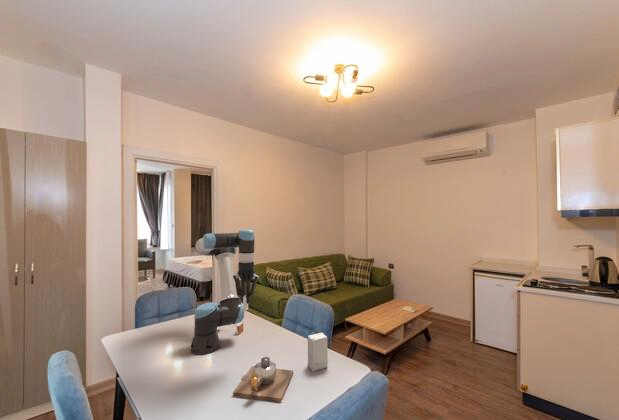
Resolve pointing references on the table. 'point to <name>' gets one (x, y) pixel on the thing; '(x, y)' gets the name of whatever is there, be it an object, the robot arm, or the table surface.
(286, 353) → the table surface
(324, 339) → the skincare box
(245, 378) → the brown wooden board
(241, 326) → the whisky bottle
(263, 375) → the silver round pot
